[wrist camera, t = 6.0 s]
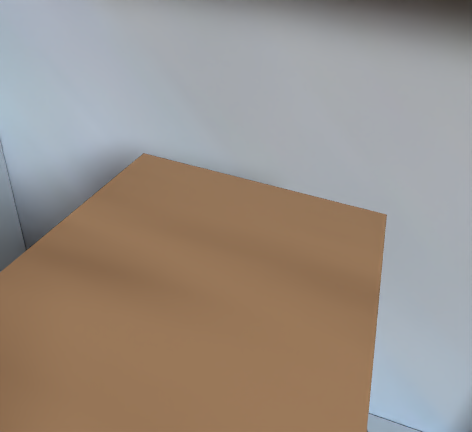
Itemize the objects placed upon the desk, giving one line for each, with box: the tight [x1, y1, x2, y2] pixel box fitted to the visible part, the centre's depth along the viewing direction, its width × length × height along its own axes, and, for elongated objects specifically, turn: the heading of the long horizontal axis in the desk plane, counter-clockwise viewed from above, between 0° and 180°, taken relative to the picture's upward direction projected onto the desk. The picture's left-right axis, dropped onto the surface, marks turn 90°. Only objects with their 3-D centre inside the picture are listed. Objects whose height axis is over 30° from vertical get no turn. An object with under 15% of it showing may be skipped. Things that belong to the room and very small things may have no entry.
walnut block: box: [0, 153, 387, 432], centre depth 8 cm, size 7×5×6 cm
